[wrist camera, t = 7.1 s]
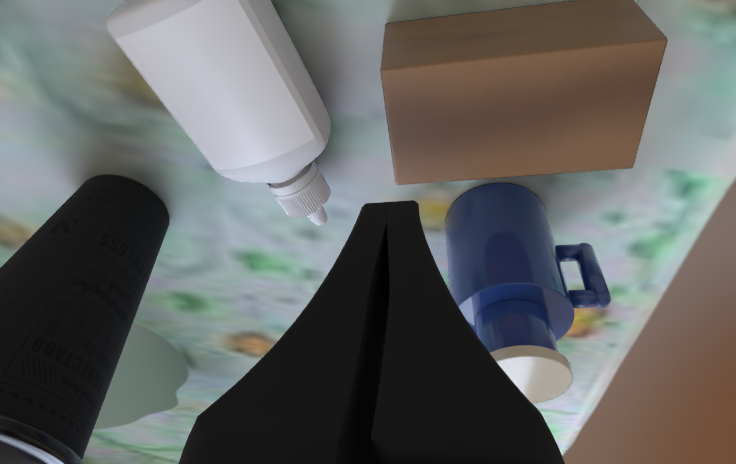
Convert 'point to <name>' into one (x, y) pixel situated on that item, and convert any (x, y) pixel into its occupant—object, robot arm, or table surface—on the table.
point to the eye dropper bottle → (234, 91)
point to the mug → (518, 284)
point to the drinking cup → (72, 316)
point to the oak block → (519, 90)
